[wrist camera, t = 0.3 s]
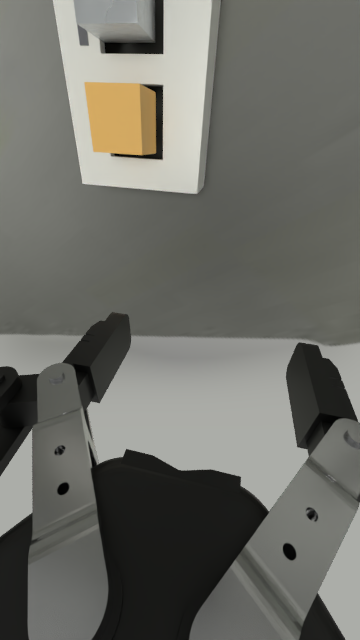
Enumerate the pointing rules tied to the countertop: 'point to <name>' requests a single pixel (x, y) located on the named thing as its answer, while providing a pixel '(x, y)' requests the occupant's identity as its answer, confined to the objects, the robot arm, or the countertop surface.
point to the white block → (117, 19)
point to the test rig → (148, 70)
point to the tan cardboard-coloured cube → (122, 117)
